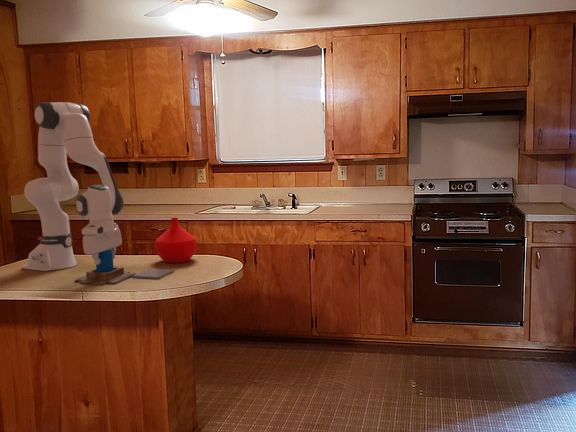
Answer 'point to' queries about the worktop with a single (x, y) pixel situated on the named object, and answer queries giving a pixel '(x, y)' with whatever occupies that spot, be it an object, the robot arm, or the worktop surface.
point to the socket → (105, 277)
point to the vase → (175, 244)
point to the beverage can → (105, 261)
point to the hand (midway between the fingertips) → (105, 261)
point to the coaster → (153, 273)
